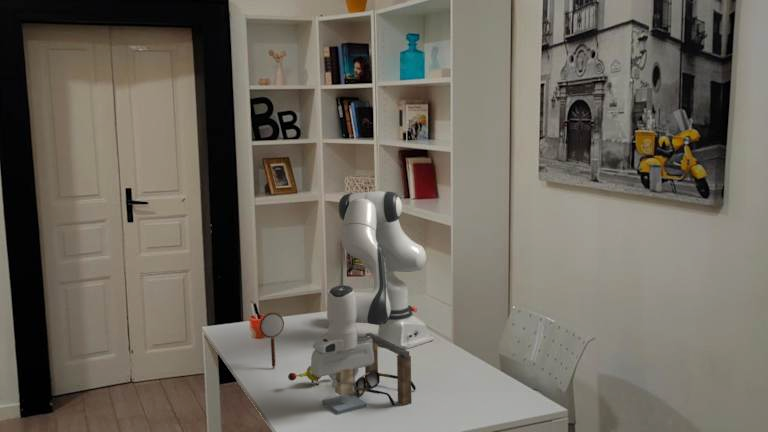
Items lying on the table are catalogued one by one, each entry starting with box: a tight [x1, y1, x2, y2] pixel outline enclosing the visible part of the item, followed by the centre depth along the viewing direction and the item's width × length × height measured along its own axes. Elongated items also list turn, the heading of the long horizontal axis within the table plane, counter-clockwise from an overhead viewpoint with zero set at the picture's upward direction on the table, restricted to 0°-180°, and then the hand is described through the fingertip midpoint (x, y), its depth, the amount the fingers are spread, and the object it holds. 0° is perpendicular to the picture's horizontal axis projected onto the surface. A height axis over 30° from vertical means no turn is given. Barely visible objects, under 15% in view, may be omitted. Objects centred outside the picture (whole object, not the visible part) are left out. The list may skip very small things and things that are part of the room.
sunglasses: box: [353, 370, 417, 407], centre depth 237 cm, size 14×15×5 cm
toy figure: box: [287, 365, 323, 387], centre depth 246 cm, size 18×6×7 cm, turn 117°
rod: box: [365, 332, 410, 358], centre depth 236 cm, size 2×23×2 cm, turn 32°
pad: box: [322, 393, 368, 415], centre depth 230 cm, size 10×10×1 cm
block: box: [334, 368, 354, 396], centre depth 229 cm, size 4×4×8 cm
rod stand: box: [364, 342, 412, 406], centre depth 238 cm, size 3×22×15 cm, turn 32°
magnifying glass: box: [259, 312, 285, 369], centre depth 261 cm, size 9×2×20 cm, turn 116°
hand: (343, 384), depth 229 cm, fingers closed on block, 4 cm apart
